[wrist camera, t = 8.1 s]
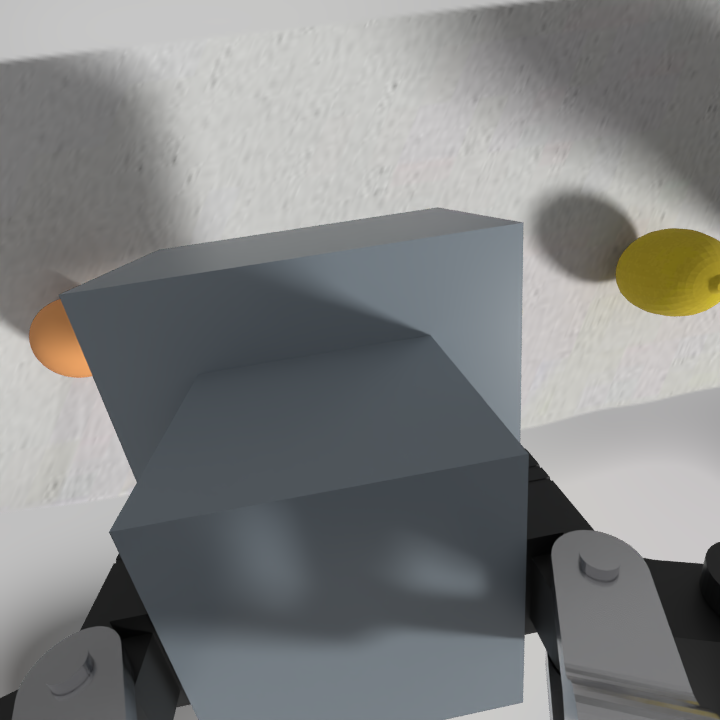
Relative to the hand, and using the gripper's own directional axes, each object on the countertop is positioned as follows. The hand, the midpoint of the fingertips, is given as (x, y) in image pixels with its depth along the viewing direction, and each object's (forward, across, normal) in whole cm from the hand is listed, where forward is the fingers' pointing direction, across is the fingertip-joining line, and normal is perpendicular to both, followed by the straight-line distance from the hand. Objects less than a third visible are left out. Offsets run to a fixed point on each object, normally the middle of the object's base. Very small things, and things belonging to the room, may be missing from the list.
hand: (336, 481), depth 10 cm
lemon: (+22, -23, +2) cm, 32 cm away
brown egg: (+19, +15, 0) cm, 24 cm away
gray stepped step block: (+8, 0, 0) cm, 8 cm away
